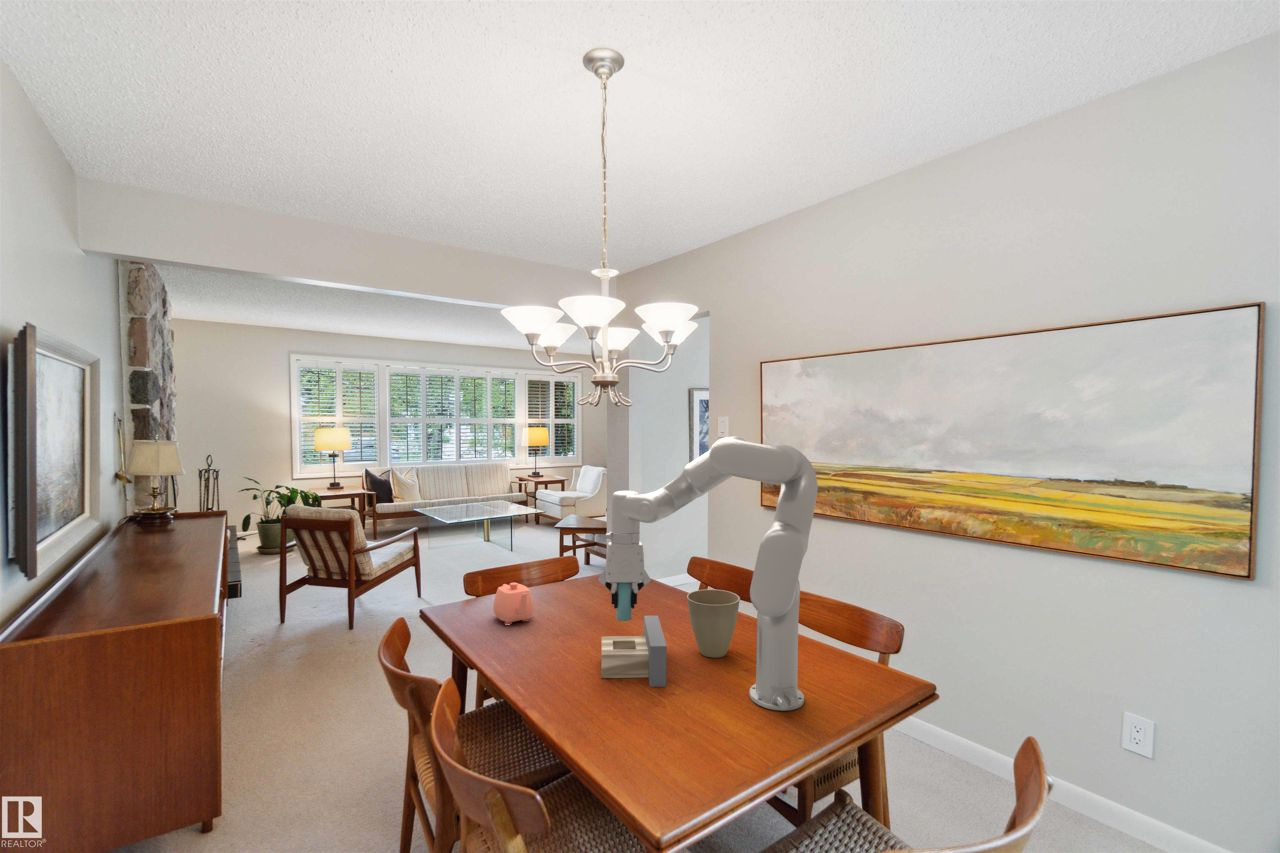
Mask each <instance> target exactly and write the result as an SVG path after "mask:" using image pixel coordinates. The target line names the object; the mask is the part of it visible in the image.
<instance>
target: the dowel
mask: <svg viewBox="0 0 1280 853" xmlns="http://www.w3.org/2000/svg"><path fill="white" fill-rule="evenodd" d="M632 589H633V584H632V583H617V586H616V591H617V608H616V609H615V612H616V614H615V618H616V620H617V621H619V622H628V621H631V620H632V608H631V603H632Z"/></svg>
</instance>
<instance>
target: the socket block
mask: <svg viewBox="0 0 1280 853" xmlns="http://www.w3.org/2000/svg"><path fill="white" fill-rule="evenodd" d="M600 659H601V660H600V661H601V668H600V669H601V671H600V672H601V673H600V674H601V679H621V678H622V679H626V678H627V679H628V678H648V668H649V653H648V648H647V643H646V638H645V636H644V635H630V636H629V635H627V636H626V635H625V636H624V635H623V636H622V635H620V636H618V635H617V636H615V635H614V636H613V635H611V636H601V658H600Z"/></svg>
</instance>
